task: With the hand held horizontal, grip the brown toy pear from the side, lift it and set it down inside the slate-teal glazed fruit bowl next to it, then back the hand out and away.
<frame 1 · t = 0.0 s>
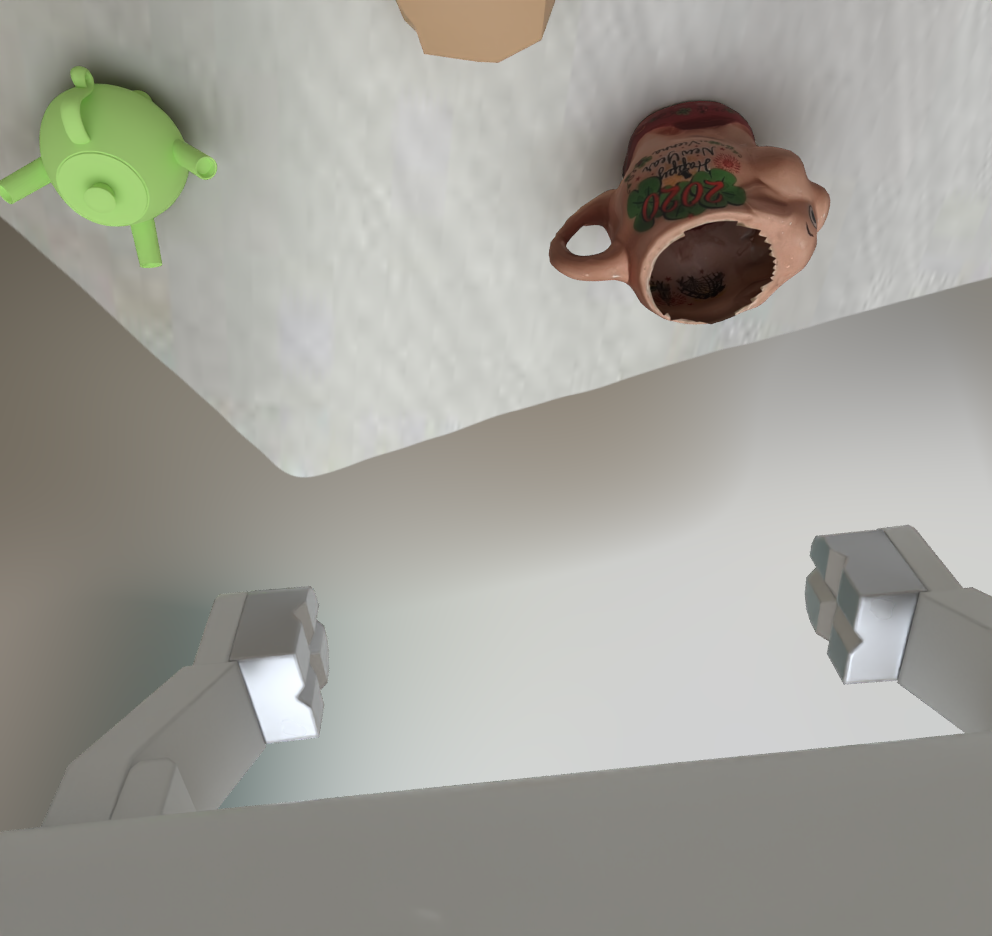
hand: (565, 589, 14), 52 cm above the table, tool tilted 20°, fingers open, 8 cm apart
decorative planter: (662, 160, 67), on the table
teapot: (128, 140, 62), on the table
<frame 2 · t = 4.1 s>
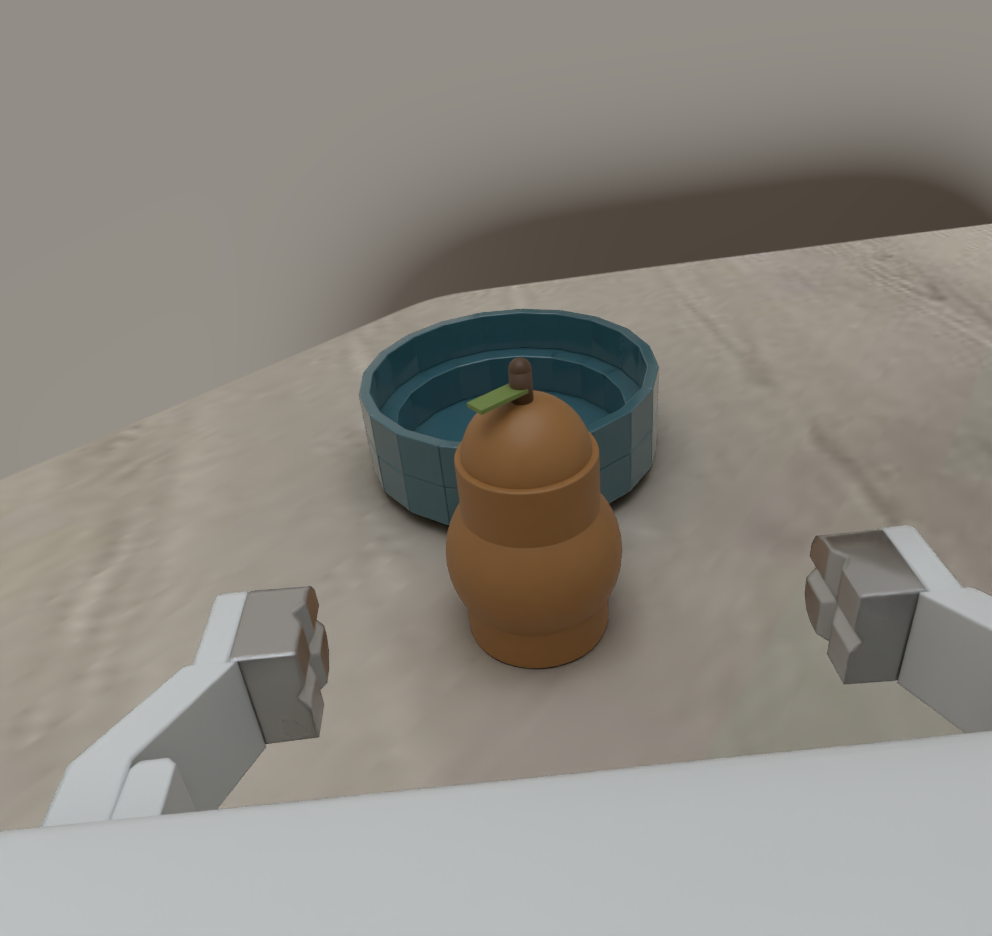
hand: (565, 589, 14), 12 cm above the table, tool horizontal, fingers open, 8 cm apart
pear: (538, 617, 31), on the table
bowl: (514, 454, 40), on the table
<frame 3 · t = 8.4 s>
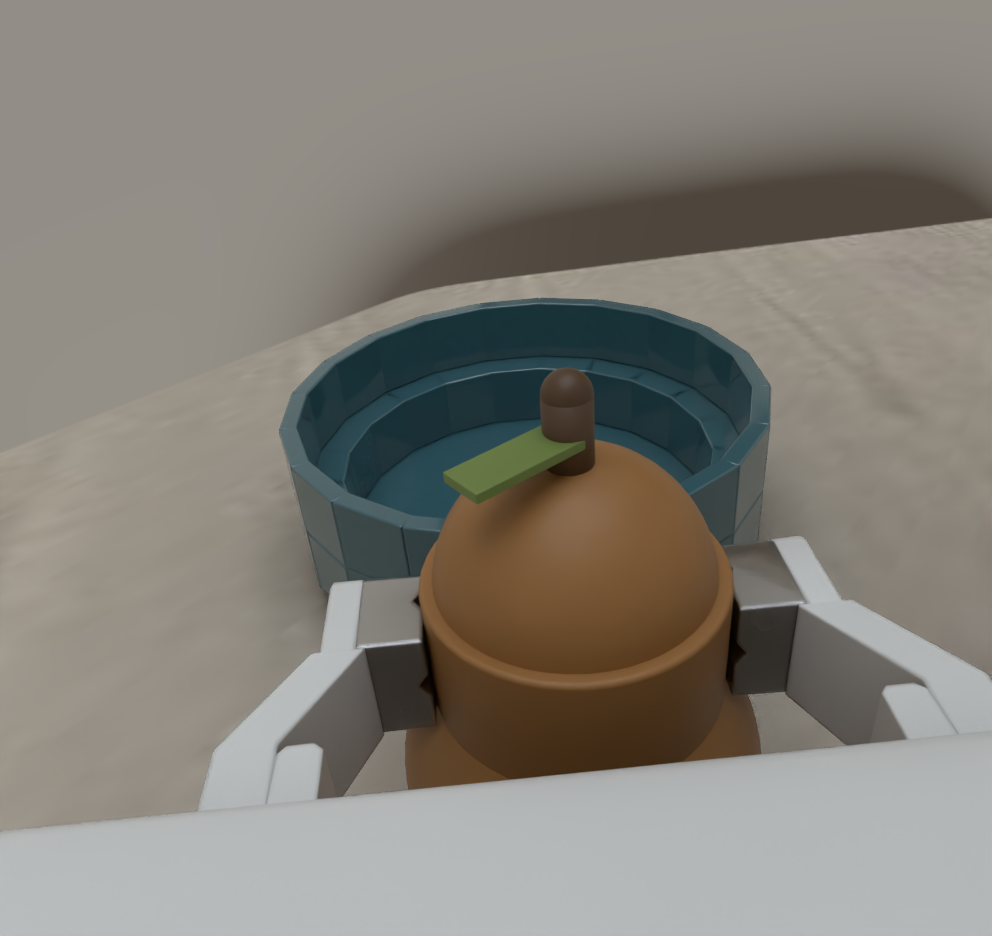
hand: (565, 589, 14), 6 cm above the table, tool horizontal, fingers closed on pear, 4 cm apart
pear: (583, 857, 16), on the table, touching gripper
bowl: (531, 521, 26), on the table
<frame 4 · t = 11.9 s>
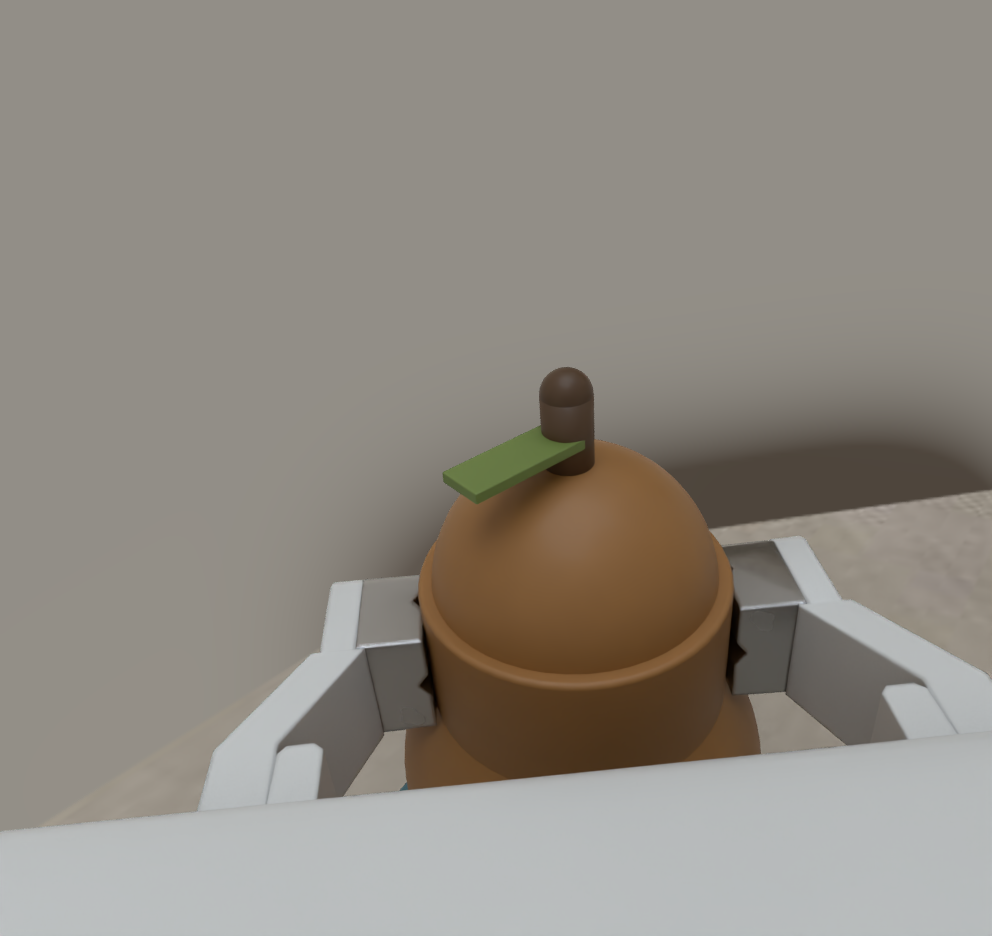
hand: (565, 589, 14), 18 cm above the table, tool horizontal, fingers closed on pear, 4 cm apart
pear: (583, 858, 16), point 12 cm above the table, touching gripper
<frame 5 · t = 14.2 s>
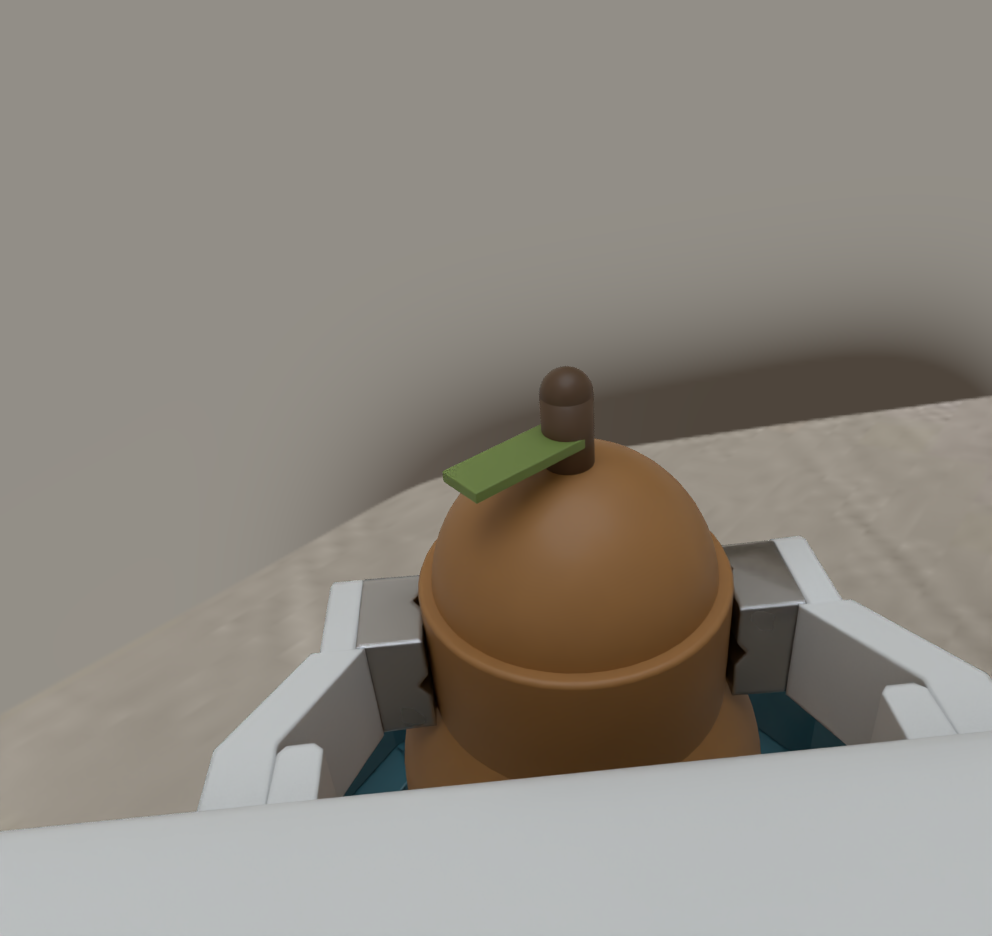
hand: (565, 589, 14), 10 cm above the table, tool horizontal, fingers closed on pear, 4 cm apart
pear: (583, 857, 16), point 4 cm above the table, touching gripper
when the fingers open (7 cm above the table, at t = 15.8 s): pear stays where it is, resting on bowl.
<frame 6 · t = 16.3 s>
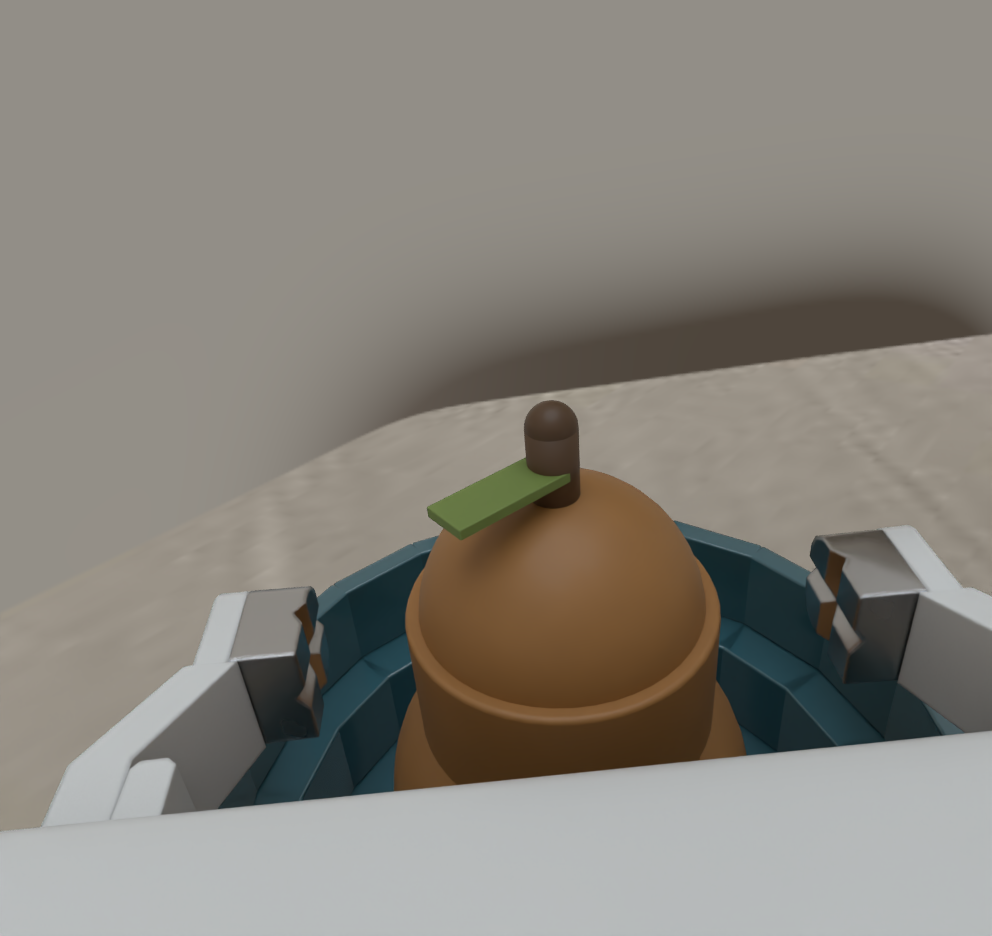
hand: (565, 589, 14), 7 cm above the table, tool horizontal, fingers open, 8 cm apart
pear: (574, 880, 16), point 1 cm above the table, touching bowl
bowl: (579, 889, 17), on the table
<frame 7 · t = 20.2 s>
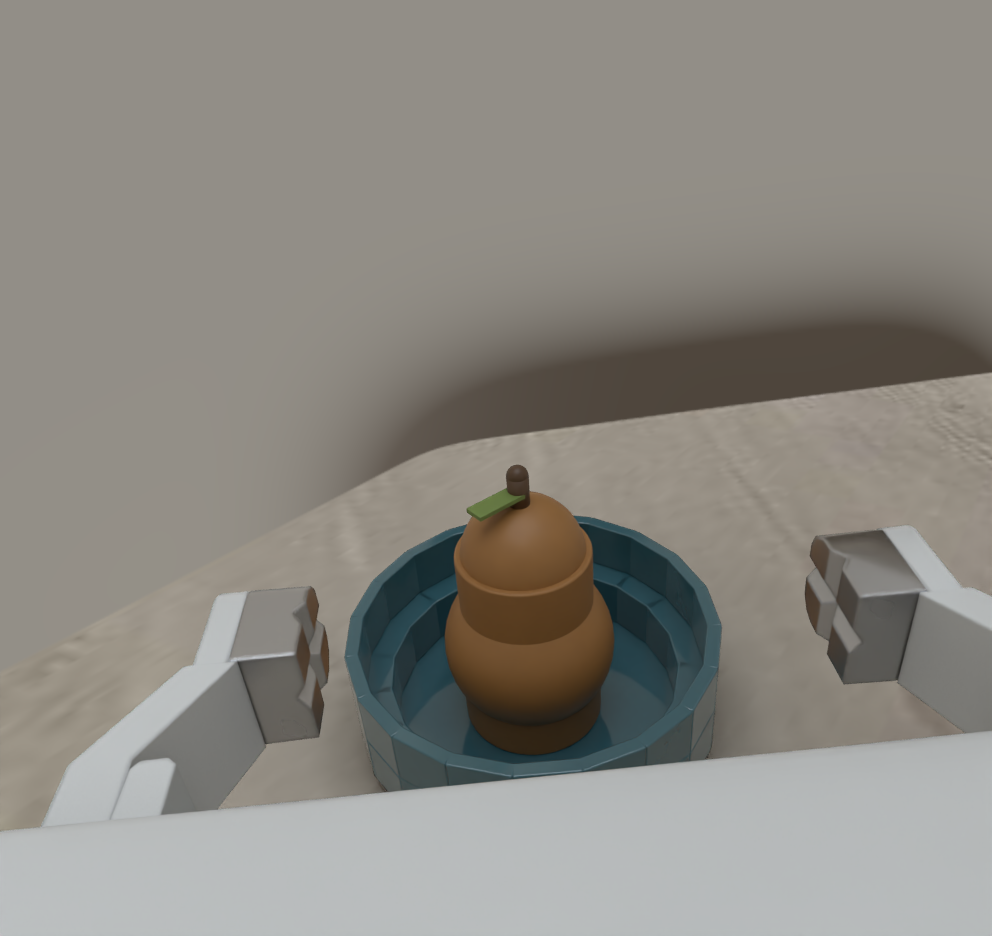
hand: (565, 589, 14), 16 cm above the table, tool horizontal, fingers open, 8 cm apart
pear: (533, 701, 32), point 1 cm above the table, touching bowl
bowl: (536, 708, 33), on the table
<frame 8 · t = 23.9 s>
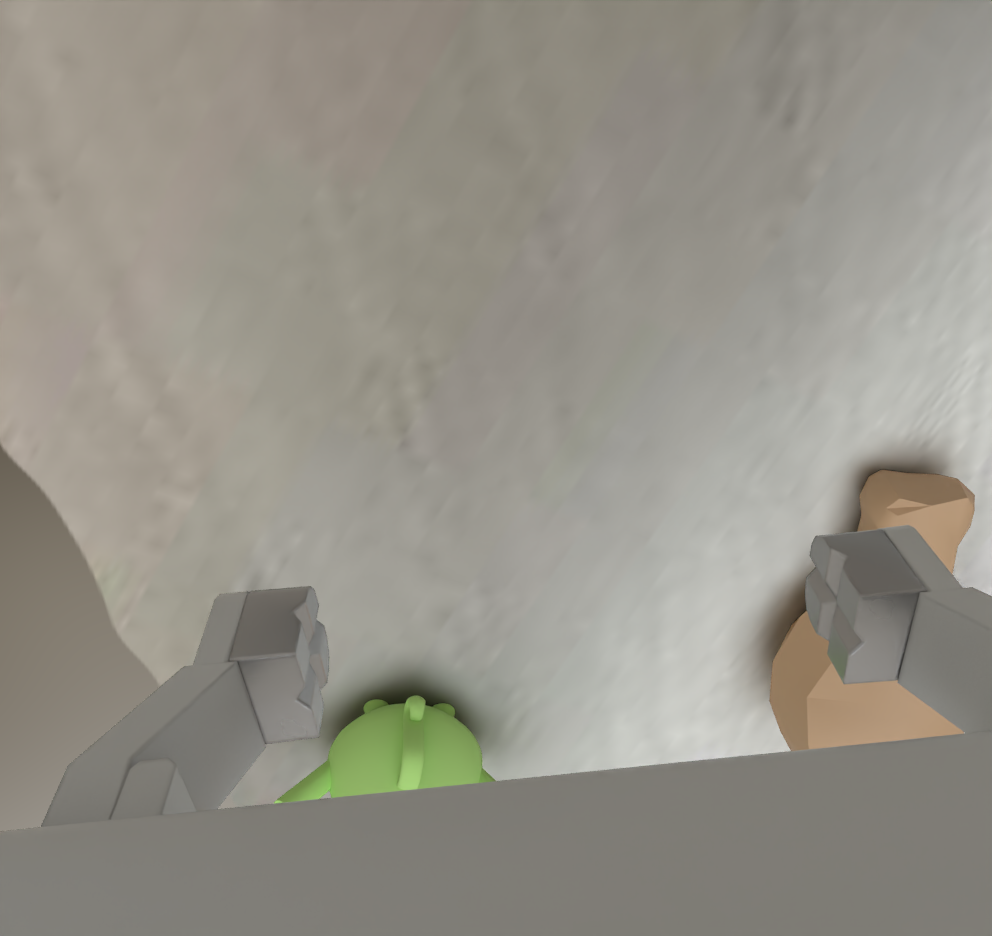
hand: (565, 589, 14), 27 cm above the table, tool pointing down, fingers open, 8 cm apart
squash: (851, 594, 51), on the table
teapot: (405, 738, 56), on the table
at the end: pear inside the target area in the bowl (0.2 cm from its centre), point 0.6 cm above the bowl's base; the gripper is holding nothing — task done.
